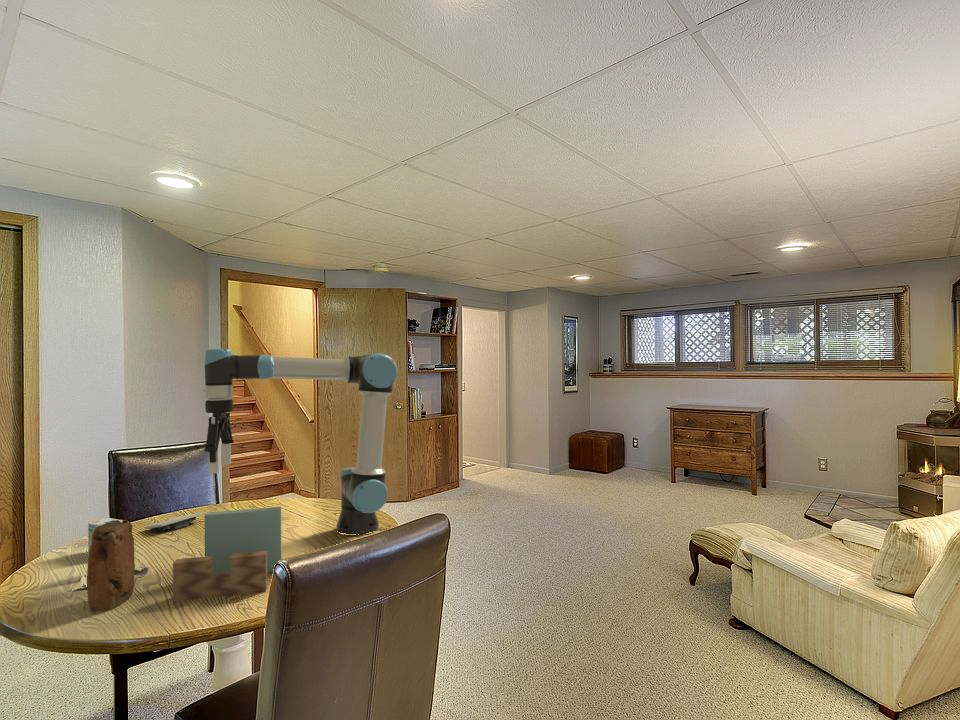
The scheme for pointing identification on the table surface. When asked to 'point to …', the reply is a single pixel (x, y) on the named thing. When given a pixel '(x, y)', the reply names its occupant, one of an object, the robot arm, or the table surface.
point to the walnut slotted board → (219, 576)
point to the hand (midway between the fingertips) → (220, 468)
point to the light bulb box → (94, 525)
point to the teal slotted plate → (242, 535)
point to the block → (110, 566)
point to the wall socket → (174, 522)
